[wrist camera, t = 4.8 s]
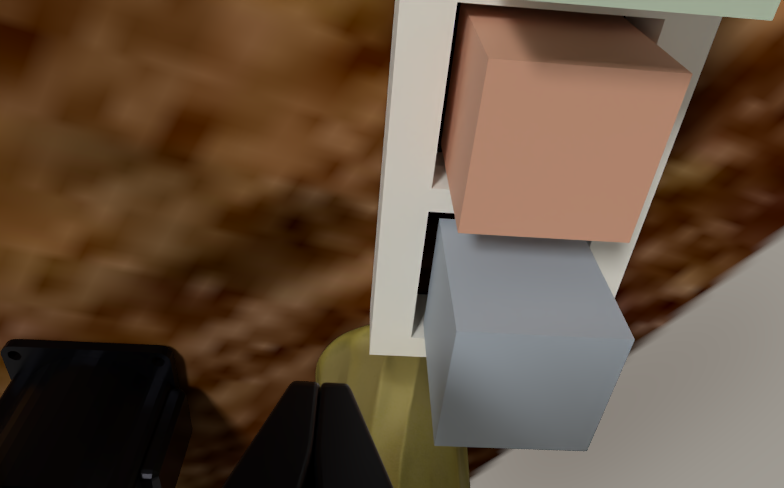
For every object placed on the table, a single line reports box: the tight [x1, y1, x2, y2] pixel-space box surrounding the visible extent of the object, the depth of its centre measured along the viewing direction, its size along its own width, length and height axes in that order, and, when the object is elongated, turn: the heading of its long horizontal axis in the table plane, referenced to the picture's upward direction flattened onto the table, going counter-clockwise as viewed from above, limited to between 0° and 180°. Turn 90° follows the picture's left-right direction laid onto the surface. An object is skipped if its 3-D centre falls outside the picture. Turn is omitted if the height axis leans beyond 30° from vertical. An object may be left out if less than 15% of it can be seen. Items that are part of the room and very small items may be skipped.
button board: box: [369, 0, 722, 357], centre depth 17 cm, size 8×19×2 cm, turn 175°
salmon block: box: [441, 3, 693, 243], centre depth 16 cm, size 4×4×5 cm
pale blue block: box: [423, 218, 635, 451], centre depth 18 cm, size 4×4×5 cm
